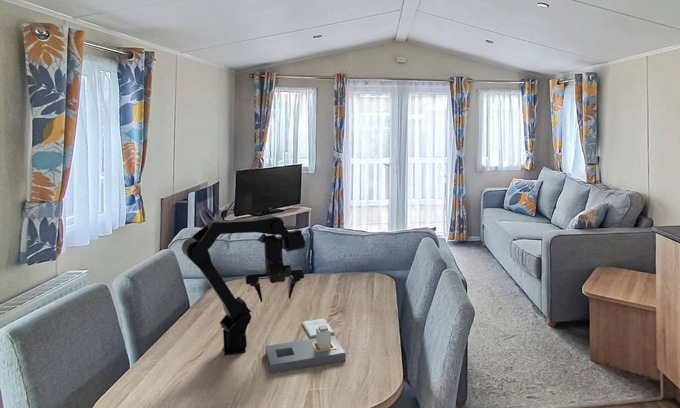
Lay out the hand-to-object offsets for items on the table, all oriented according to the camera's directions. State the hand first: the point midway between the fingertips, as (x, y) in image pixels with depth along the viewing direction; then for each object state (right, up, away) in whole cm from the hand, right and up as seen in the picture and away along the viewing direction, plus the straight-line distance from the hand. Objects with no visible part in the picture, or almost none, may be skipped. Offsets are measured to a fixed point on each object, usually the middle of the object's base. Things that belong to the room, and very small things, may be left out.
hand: (275, 300), depth 140 cm
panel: (+11, -15, -12) cm, 21 cm away
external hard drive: (+14, -13, +8) cm, 20 cm away
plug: (+16, -14, -10) cm, 24 cm away
